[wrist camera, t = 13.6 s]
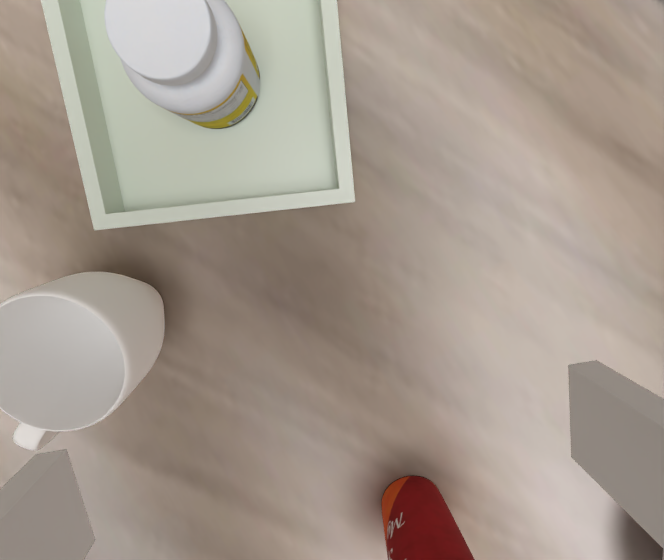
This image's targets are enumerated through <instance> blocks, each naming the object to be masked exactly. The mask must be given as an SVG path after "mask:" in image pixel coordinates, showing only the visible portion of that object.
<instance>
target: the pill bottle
mask: <svg viewBox="0 0 664 560" xmlns="http://www.w3.org/2000/svg"><path fill="white" fill-rule="evenodd" d="M104 19H105V26H106V32H107V35H108V38H109V41H110V43H111V45H112V47H113V49H114V50H115V52H116V53H117V55H118V56H119V57H120V59H121V62H122V65H123V67H124V70H125V72H126V74H127V75H128V77H129V79H130V80H131V82H132V83H133V84H134V86H135V87H136V88H137V89H138V90H139V91H140V92H141V93H142V94H143V95H144V96H145V97H146V98H147V99H149V100H150V101H151V102H153V103H155V104H156V105H158V106H160V107H162V108H164V109H166V110H168V111H170V112H172V113H174V114H176V115H178V116H180V117H182V118H184V119H186V120H188V121H190V122H192V123H194V124H197V125H199V126H202V127H205V128H210V129H224V128H228V127H232V126H234V125H236V124H238V123H240V122H241V121H243V120H244V119H245V118H246V117H247V116H248V115H249V114H250V113H251V111H252V110H253V108H254V107H255V104H256V102H257V100H258V97H259V92H260V73H259V68H258V65H257V62H256V59H255V57H254V55H253V53H252V50H251V48H250V46H249V43H248V41H247V39H246V37H245V35H244V33H243V31H242V29H241V27H240V24H239V22H238V20H237V18H236V16H235V15H234V13H233V11H232V10H231V8H230V7H229V5H228V4H227V3H226V2H225V0H106V4H105V11H104Z"/></svg>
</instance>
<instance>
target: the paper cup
mask: <svg viewBox="0 0 664 560" xmlns="http://www.w3.org/2000/svg"><path fill="white" fill-rule="evenodd" d="M382 516H383V524H384V532H385V540H386V547H387V555H388V560H474V558H473V556H472V554H471V552H470V550H469V548H468V546H467V544H466V542H465V540H464V538H463V536H462V534H461V532H460V530H459V528H458V526H457V524H456V522H455V520H454V518H453V516H452V514H451V512H450V510H449V508H448V507H447V505H446V503H445V501H444V499H443V497H442V495H441V493H440V492H439V490H438V488H437V487H436V486H435V485H434V484H433V483H432V482H431V481H430V480H428V479H426V478H424V477H420V476H406V477H403V478H400V479H398V480H396V481H394V482H393V483H392V484H391V485H389V486H388V488H387V489H386V490H385V492H384V494H383V497H382Z"/></svg>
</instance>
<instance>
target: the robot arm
mask: <svg viewBox="0 0 664 560" xmlns="http://www.w3.org/2000/svg"><path fill="white" fill-rule="evenodd" d="M568 369H569V402H570V434H571V457H572V458H573V459H574V460H575V461H576V462H577V463H578V464H579V465H580V466H581V467H582V468H583V469H584V470H585V471H586V472H587V473H588V474H589V475H590V476H591V477H592V478H593V479H594V480H595V481H596V482H597V483H598V484H599V485H600V486H601V487H602V488H603V489H604V490H605V491H606V492H607V493H608V494H609V495H610V496H611V497H612V498H613V499H614V500H615V501H616V502H617V503H618V504H619V505H620V506H621V507H622V508H623V509H624V510H625V511H626V512H627V513H628V514H629V515H630V516H631V517H632V518H633V519H634V520H635V521H636V522H637V523H638V524H639V525H640V526H641V527H642V528H643V529H644V530H645V531H646V532H647V533H648V534H649V535H650V536H651V537H652V538H653V539H654V540H655V541H656V542H657V543H658V544H659V545H660V546H661V547H662V548H663V549H664V399H663V398H661V397H659V396H658V395H656V394H654V393H652V392H651V391H649V390H647V389H645V388H644V387H642V386H640V385H639V384H637V383H635V382H633V381H632V380H630V379H628V378H626V377H625V376H623V375H621V374H619V373H618V372H616V371H614V370H613V369H611V368H609V367H607V366H606V365H604V364H602V363H600V362H599V361H597V360H595V361H589V362H583V363H577V364H571V365H568ZM94 542H95V537H94V534H93V531H92V528H91V525H90V521H89V518H88V515H87V512H86V509H85V506H84V503H83V499H82V496H81V493H80V490H79V487H78V484H77V481H76V477H75V474H74V471H73V468H72V465H71V462H70V459H69V455H68V452H67V449H65V450H59V451H53V452H47V453H41V454H36V455H35V456H34V457H33V458H32V459H31V460H30V461H29V462H28V463H27V464H26V465H25V466H24V467H23V468H22V469H21V470H20V471H18V472H17V473H16V474H15V475H14V476H13V477H12V478H11V479H10V480H9V481H8V482H7V483H6V484H5V485H4V486H3V487H2V488H1V489H0V560H84V558H85V556H86V555H87V553H88V551H89V550H90V548H91V547H92V545H93V543H94Z"/></svg>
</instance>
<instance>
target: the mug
mask: <svg viewBox="0 0 664 560" xmlns="http://www.w3.org/2000/svg"><path fill="white" fill-rule="evenodd" d="M164 332H165V319H164V305H163V301H162V298H161V296H160V294H159V293H158V292H157V290H156V289H155V288H153V287H152V286H151V285H149V284H147V283H145V282H142V281H139V280H136V279H133V278H130V277H127V276H124V275H120V274H116V273H110V272H84V273H78V274H73V275H69V276H65V277H62V278H59V279H56V280H53V281H51V282H48V283H45V284H42V285H40V286H37V287H34V288H31V289H29V290H26V291H23V292H21V293H19V294H16V295H14V296H12V297H10V298H8V299H7V300H5V301H3V302H2V303H0V409H1V410H2V411H3V412H4V413H6V414H7V415H9V416H10V417H12V418H13V419H15V420H17V421H19V422H20V423H19V425H18V426H17V428H16V430H15V432H14V434H13V441H14V442H15V443H16V444H17V445H18V446H20V447H22V448H25V449H28V450H33V451H34V450H39V449H41V448H43V447H44V446H45V445H46V444H47V443H49V442H50V441H51V440H52V439H53V438H54V437H55V436H56V435H57V433H58V432H64V431H74V430H79V429H83V428H86V427H89V426H91V425H94V424H96V423H98V422H100V421H101V420H103V419H104V418H106V417H107V416H109V415H110V414H111V413H112V412H113V411H115V410H116V409H117V408H118V407H119V406H120V405H121V404H122V403H123V401H124V400H125V399H126V398H127V397H128V396H129V395H130V394H131V392H132V391H133V390H134V389H135V388H136V387H137V385H138V384H139V383H140V382H141V381H142V380H143V378H144V377H145V376H146V375H147V373H148V372H149V371H150V369H151V368H152V366H153V365H154V363H155V361H156V359H157V357H158V355H159V353H160V350H161V347H162V344H163V339H164Z"/></svg>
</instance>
